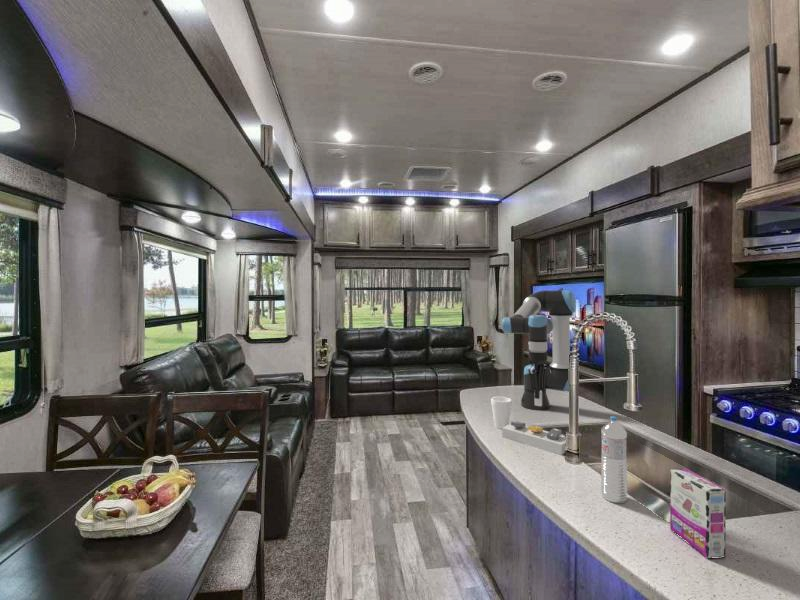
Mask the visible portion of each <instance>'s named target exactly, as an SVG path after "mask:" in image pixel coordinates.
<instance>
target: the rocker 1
mask: <svg viewBox="0 0 800 600" xmlns="http://www.w3.org/2000/svg"><path fill="white" fill-rule="evenodd" d="M510 422H511V423H510V424H511V425H512V426H516V427H525V425H526V423H525V422H522V421H510Z"/></svg>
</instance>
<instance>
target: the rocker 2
mask: <svg viewBox="0 0 800 600" xmlns="http://www.w3.org/2000/svg"><path fill="white" fill-rule="evenodd" d="M548 432H549V433H548V434H547V438H550V439H553V440H556V439H557V438H558V437H559V436H560V435H563V431H562V429H559V428H554V427H551V429H550V431H548Z"/></svg>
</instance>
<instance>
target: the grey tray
mask: <svg viewBox="0 0 800 600" xmlns="http://www.w3.org/2000/svg"><path fill="white" fill-rule="evenodd" d="M528 426H529V425H526V424H525V427H516V426H512V425H511V423H509V425H507V426H505V427H503V428H502V429H501V437H502V438H505V439H508V440H511V441H514V442H518V443H521V444H524V445H528V446H531V447H534V448H538V449H540V450H544V451H546V452H550V453H553V454H557V455H560V456H562V455H564V454H566V452H565V444H566V438H565V436H566V435H563V434H561V435H560V436H559V437H558V438H557V439H556V440H553V439H550V438H547V434H548V433H549V432H550V431H547V430H544V429H543V432H535V431H531V430H528ZM578 452H579V455H578V456H582V457H584V458H589V454H588V453H585V452H581V451H578Z"/></svg>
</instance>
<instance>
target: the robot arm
mask: <svg viewBox="0 0 800 600" xmlns="http://www.w3.org/2000/svg"><path fill="white" fill-rule="evenodd" d="M576 311H577V304H576V298H575V294H574V291H572V290H568V289H567V290H565V289H561V290H559V289H557V290H539V291H536V292H533V293H531V294H530V295H528V296H526V297H525V299H524V300H523V302H522V305H521V306H520V307H519V308H518V309H517V310H516V312H514V314H513V315H512V316H507V317H503V318H502V320H501V329H502V332H503V333H505V334H518V335H519V334H521V335H528V343H527V344H528V360H529V361H531V364H528V365H525V366H524V370H523V394H522V397H521V399H520V406H522V407H523V408H525V409H529V410H538V411H543V410H549V408H550V406H551V405H550V401H549V397H548V395H547V390H552V391H553V390H554V391H561V392H568V393H569V384H568V369H569V355H570V356H571V345H570V343H571V342H570V341H571V338H570V336H571V334H570V333H571V330H570V325H571V324H570V319H571V318H572V317H573V316H574V315H573V314H574V313H575V312H576ZM539 312H541V313H543V312H544V313H547V312H548V315H549V317H550V318H551V319H550V318H549V317H547V315H544V314H538V313H539ZM549 334H551V337H552V339H551V340H552V348H551V349H552V362H551V363H550V364H549V367H548V365H547V364H545V362H547V361H548V335H549Z"/></svg>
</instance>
